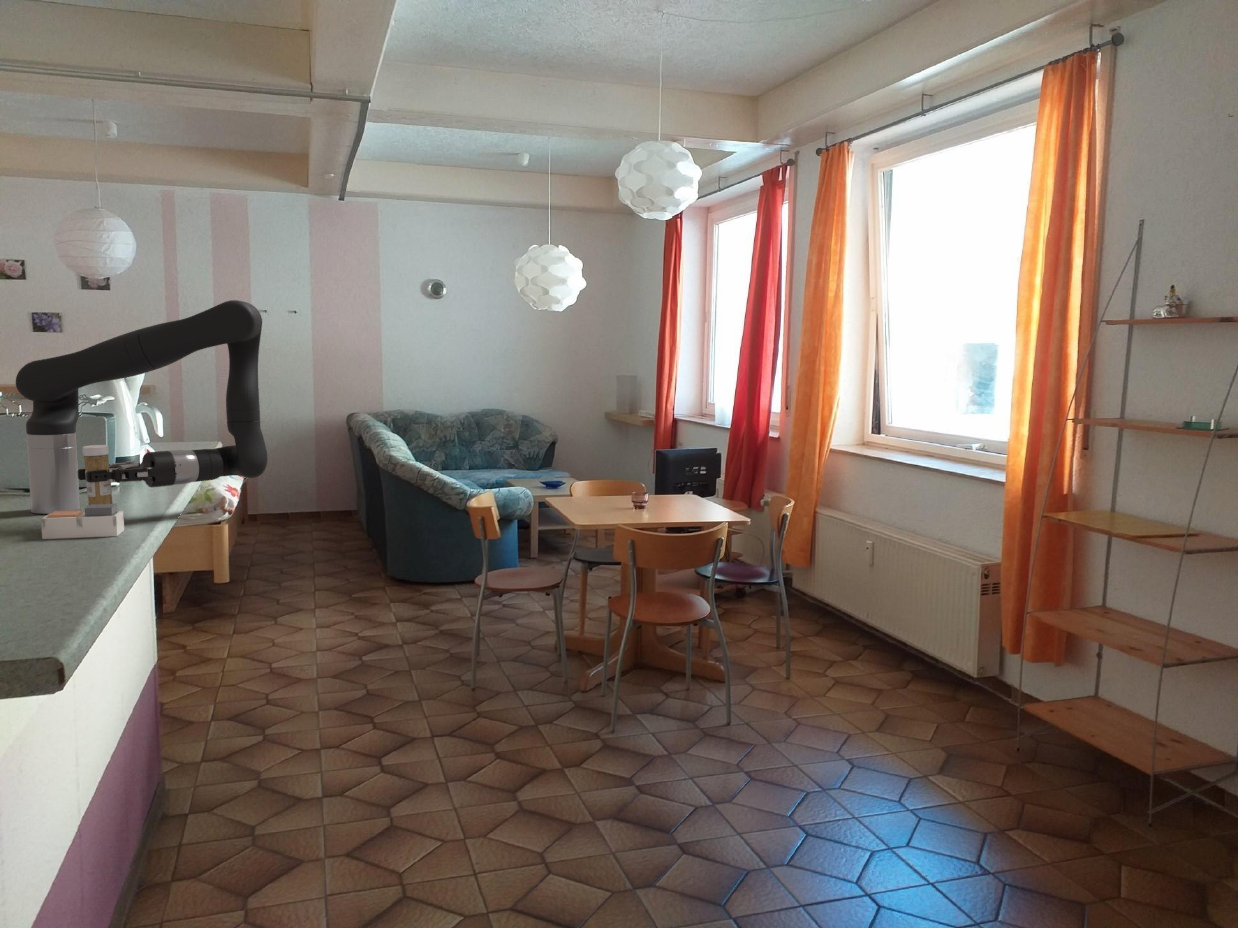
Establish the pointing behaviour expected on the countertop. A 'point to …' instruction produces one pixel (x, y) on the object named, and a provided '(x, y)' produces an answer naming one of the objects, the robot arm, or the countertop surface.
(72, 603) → the countertop surface
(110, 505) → the key charcoal
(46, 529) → the keypad
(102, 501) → the sprinkles bottle
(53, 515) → the key terracotta
